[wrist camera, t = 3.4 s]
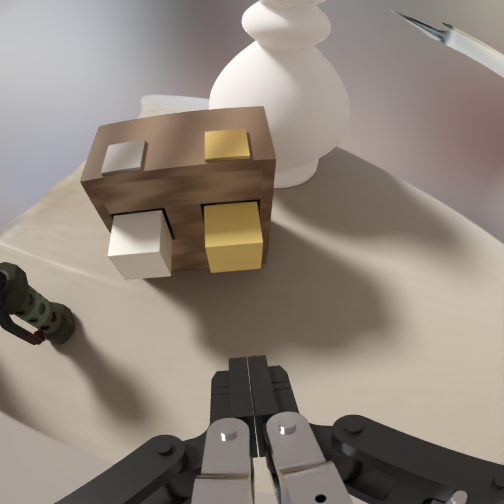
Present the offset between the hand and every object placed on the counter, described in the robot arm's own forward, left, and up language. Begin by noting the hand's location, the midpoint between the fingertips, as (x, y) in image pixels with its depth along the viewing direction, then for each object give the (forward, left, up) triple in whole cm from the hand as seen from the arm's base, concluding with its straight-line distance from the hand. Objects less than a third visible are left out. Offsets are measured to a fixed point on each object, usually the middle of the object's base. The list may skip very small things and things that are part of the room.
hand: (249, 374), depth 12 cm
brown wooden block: (-4, +18, -19) cm, 26 cm away
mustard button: (0, +14, -12) cm, 18 cm away
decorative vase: (+7, +32, -19) cm, 38 cm away
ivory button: (-8, +14, -12) cm, 20 cm away
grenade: (-22, +8, -19) cm, 30 cm away
